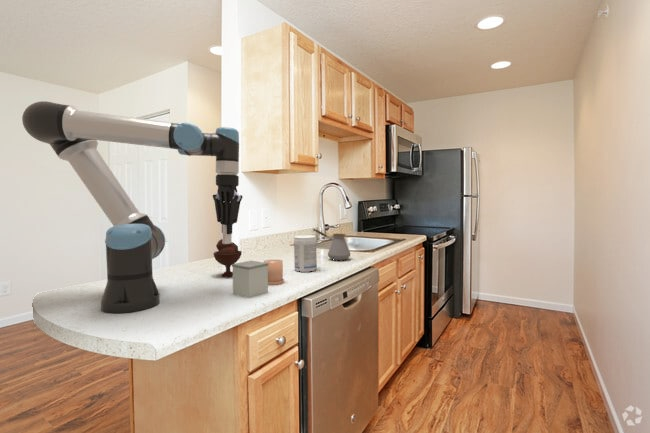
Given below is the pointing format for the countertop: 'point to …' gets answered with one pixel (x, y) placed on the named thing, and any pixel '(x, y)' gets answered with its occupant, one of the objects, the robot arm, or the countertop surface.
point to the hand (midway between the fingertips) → (226, 243)
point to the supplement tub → (305, 253)
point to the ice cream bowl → (227, 256)
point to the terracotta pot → (275, 272)
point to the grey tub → (250, 278)
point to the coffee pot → (337, 247)
